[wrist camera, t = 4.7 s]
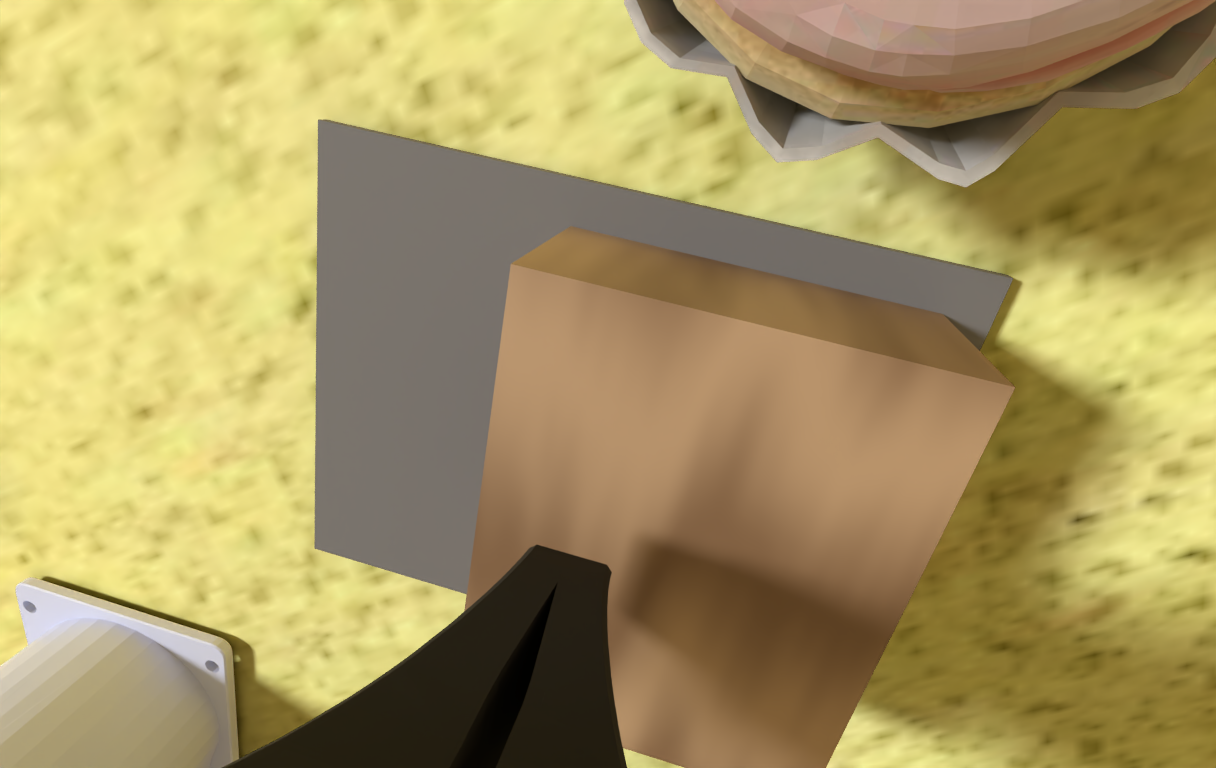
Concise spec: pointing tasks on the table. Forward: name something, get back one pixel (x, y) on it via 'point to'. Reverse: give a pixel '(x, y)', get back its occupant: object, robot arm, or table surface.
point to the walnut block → (727, 481)
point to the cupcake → (928, 68)
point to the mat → (497, 320)
